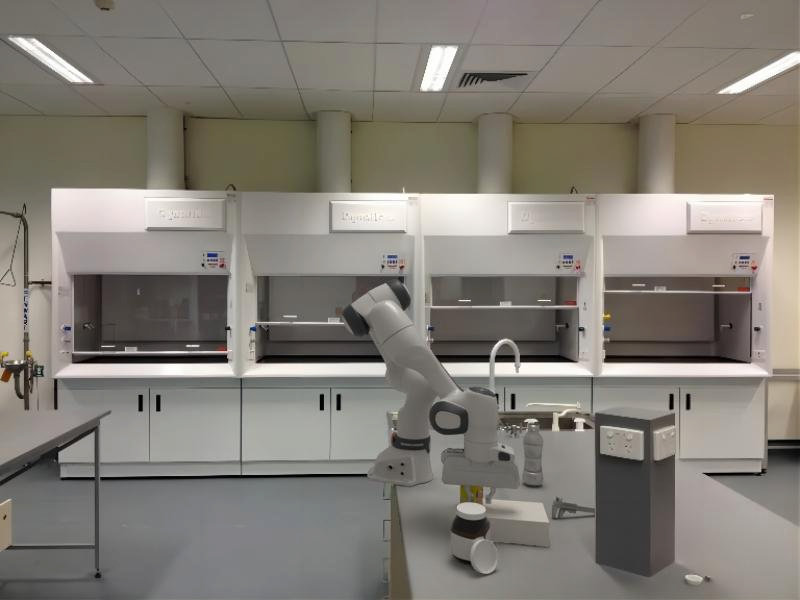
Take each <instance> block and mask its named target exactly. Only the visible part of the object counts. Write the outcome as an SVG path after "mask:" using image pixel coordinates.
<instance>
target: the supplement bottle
mask: <svg viewBox="0 0 800 600" xmlns="http://www.w3.org/2000/svg"><path fill="white" fill-rule="evenodd" d="M459 486H460V487H459V490H460V491H459V504H461V503H466V502H469V496H468V495H467V493H466V491H465V486H464V485H459ZM478 490H481V491H482V501H483V499H484V487H478V486H470V492H471V494H474V503H478ZM472 503H473V502H472Z"/></svg>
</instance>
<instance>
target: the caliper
mask: <svg viewBox="0 0 800 600" xmlns="http://www.w3.org/2000/svg"><path fill="white" fill-rule="evenodd" d="M595 507H596V506H588V505H583V504H578V503H576V502H572V501H566V500H563V498H562V497H561V496H560V497H558V496H556V497H555V499H554V500H553V502H552V505H551V518H552V519H553V520H556V517H557V519H558V520H562V517H563V516H564V514H565V512H566V511H567V512H568V513H571V514H572V513H573V514H576V513H577V512H582V513H591V514H596V513H595ZM557 512H558V513H557Z"/></svg>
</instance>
